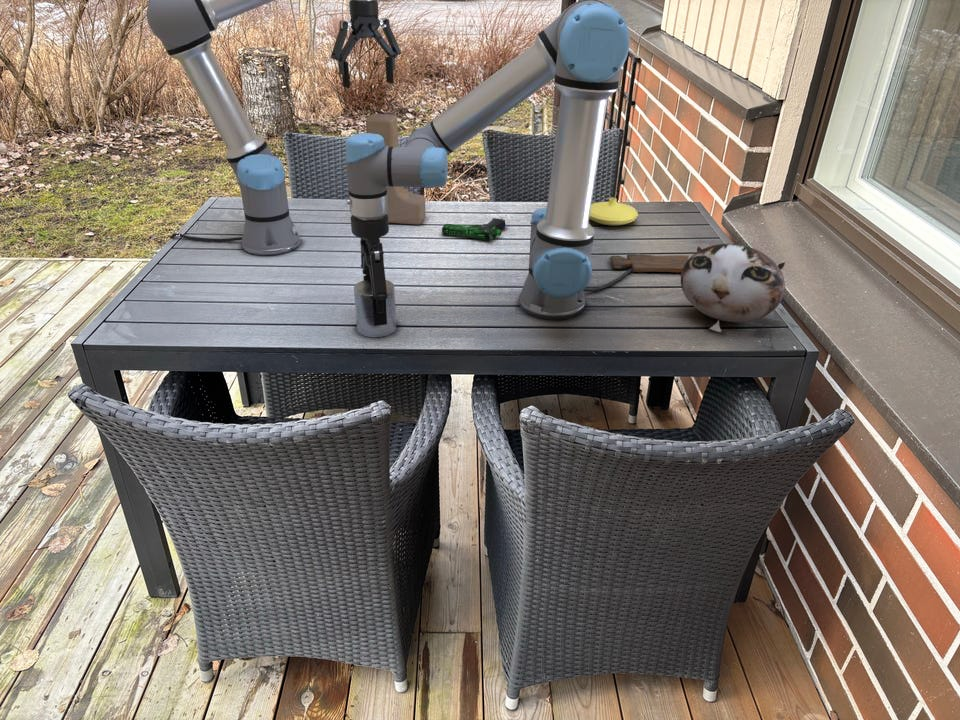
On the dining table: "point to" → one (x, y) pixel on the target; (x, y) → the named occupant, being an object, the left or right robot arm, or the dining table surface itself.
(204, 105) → the left robot arm
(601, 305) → the dining table surface
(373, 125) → the decorative block
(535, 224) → the right robot arm
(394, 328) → the can
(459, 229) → the handgun
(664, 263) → the dark wooden board
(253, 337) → the dining table surface
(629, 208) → the yellow knobbed lid
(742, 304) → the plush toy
